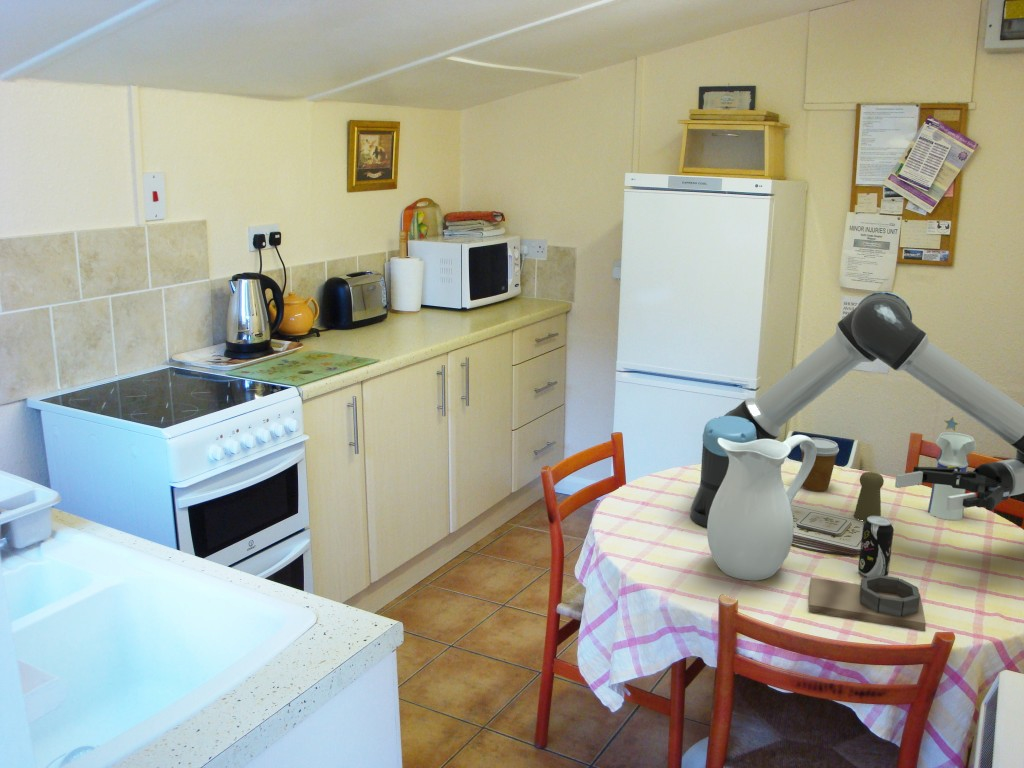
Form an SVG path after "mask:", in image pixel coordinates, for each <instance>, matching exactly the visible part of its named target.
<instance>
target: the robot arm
mask: <svg viewBox="0 0 1024 768" xmlns="http://www.w3.org/2000/svg"><path fill="white" fill-rule="evenodd" d="M876 360H879V361H880V362H882V363H884V364H885V365H886V366H889V367H890V368H891V369H893V370H894V371H896V372H899V371H903V372H905V373H907V374H909V375H910V376H912V377H913V378H915V379H916V380H917V381H919V382H921V383H922V384H923V385H924V386H926V387H927V388H928V389H930V390H932V391H933V392H934V393H936V394H937V395H939V396H940V397H942V398H943V399H944V400H946V401H948V402H949V403H950V404H952V405H954V407H955V408H957V409H959V410H961V411H962V412H964V413H965V414H966V415H967V416H969V417H970V418H972V419H973V420H975V421H976V422H978V423H979V424H980V425H982V426H983V427H985V428H986V429H987V430H989V431H990V432H992V433H993V434H995V435H996V436H998V437H999V438H1001V439H1002V440H1003V441H1005V442H1006V443H1008V444H1009V445H1011V446H1012V447H1013V448H1014V449H1015V450H1016V454H1015V458H1012V459H1004V460H998V461H994V462H988V463H987V462H986V463H982V464H979V465H978V466H977V467H975V468H974V470H973V471H972V470H971V471H969V470H966V472H960V468H959V467H951V468H943V467H937V466H934V467H933V466H913V470H912V472H906V473H899V474H896V475H895V483H894V484H895V485H894V488H896V489H900V488H907V487H913V486H920V485H922V484H924V483H925V484H932V485H933V484H942V485H951V486H952V487H953V488H958V489H965V490H966V491H967V492H968V493H967V492H966V493H965V494H961V495H955V496H949V497H948V498H947V506H946V510H948V511H951V510H957V509H963V508H964V509H968V508H975V507H976V508H983V507H985V510H987V511H993V510H994V509H995V508H996V507H997V506H999V505H1000V504H1001V502H1003V501H1006V500H1009V498H1010V497H1011V496H1017V495H1022V494H1023V495H1024V405H1021V404H1020V403H1018V402H1017V401H1016V400H1014V399H1013V398H1011V397H1010V396H1008V395H1007V394H1005V393H1004V392H1003V391H1001V390H999V389H998V388H997V387H995V386H994V385H992V384H991V383H990V382H988V381H987V380H985V379H984V378H982V377H981V376H980V375H978V374H977V373H976V372H974V371H973V370H971V369H969V368H968V367H967V366H965V365H963V364H962V363H961V362H959V361H958V360H957V359H955V358H954V357H952V356H950V355H949V354H948V353H946V352H945V351H944V350H942V349H940V347H938V346H936V345H934V344H933V343H932V342H931V341H929V336H928V334H927V333H926V332H925V331H923V330H922V329H920V328H919V327H918V326H917V325H916V324H915V323H914V322H913V313H912V311H911V308H910V306H909V305H908V304H907V302H906V300H905V299H903V298H902V297H901V296H900V295H898V294H895V293H892V292H888V291H879V292H874V293H871V294H868V295H867V296H865V297H864V298H862V300H861V301H860V302H859V304H858V305H857V306H856V307H855V308H854V309H852V311H849V313H848V314H846V315H845V316H844V317H843V318H841V320H840V321H838V322H837V323H836V326H835V333H834V334H833V335H832V336H830V337H829V338H828V339H827V340H826V341H824V343H823V344H820V346H818V348H816V349H815V350H813V352H811V353H810V354H808V356H806V358H804V359H803V360H802V361H801V362H799V363H798V364H797V365H796V366H794V367H792V369H791V370H789V371H788V372H787V373H786V374H785V375H784V376H782V377H781V378H780V379H779V380H778V381H776V382H775V383H774V384H773V385H771V387H769V388H768V389H767V390H765V391H764V392H763V393H762V394H761V395H760V396H758V397H757V398H755V397H747V398H746V399H744V400H743V402H741V403H739V405H738V406H736V407H735V408H733V409H730V410H729V411H728V412H726V413H725V414H724V415H722V416H718V417H714V418H712V419H709V420H708V421H707V422H706V424H705V425H704V429H703V434H702V449H701V451H702V453H701V467H700V468H701V469H700V470H701V471H700V481H699V482H700V483H699V486H698V488H697V489H698V490H697V492H696V494H695V496H694V499H693V501H692V503H691V507H690V518H691V520H692V522H694V523H696V524H697V525H699V526H701V527H703V528H707V523H708V516H709V512H710V508H711V505H712V503H713V500H714V498H715V495H716V493H717V491H718V489H719V488H720V486H721V484H722V482H723V480H724V478H725V476H726V473H727V470H728V466H729V457H728V455H727V453H726V452H725V451H724V450H723V449H722V448H721V447H720V446H719V445H718V441H717V440H718V438H723V439H725V440H728V441H732V442H737V443H747V442H751V441H755V440H759V439H773V440H776V439H777V438H779V437H780V436H781V434H782V426H784V424H785V423H787V422H789V420H791V419H793V417H794V416H797V414H798V413H800V412H801V411H802V410H803V409H805V408H806V407H807V406H808V405H809V404H811V403H812V402H814V401H815V400H817V398H818V397H820V396H821V395H822V394H823V393H825V391H827V390H829V388H831V387H832V386H834V385H835V384H836V383H837V382H839V380H841V379H842V378H843V377H845V376H846V375H847V374H848V373H850V372H851V371H852V370H854V368H856V367H857V366H858V365H860V364H861V363H873V362H875V361H876ZM959 478H960V479H959ZM957 479H959V484H956V481H957ZM976 493H977V495H976Z"/></svg>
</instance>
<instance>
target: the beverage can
mask: <svg viewBox="0 0 1024 768" xmlns="http://www.w3.org/2000/svg"><path fill="white" fill-rule="evenodd" d="M894 530H895V529H894V526H893V525H892V520H890V519H889V518H888V517H884V516H882V515H881V516H870V517H868V518H867V521H866V522H864V523H863V525H862V533H861V542H860V551H859V558H858V568H857V569H858V572H859V573H860V574H862V575H863V576H864V577H865V578H867V577H871V576H875V575H877V576H878V575H881V576H887V577H888V575H889V571H890V563H891V562H890V561H891V556H892V555H891V554H892V545H893V536H894Z"/></svg>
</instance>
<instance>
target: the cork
mask: <svg viewBox="0 0 1024 768" xmlns="http://www.w3.org/2000/svg"><path fill="white" fill-rule="evenodd" d="M884 482H885V481H884V477H883V475H882V474H880V473H878V472H874V471H873V472H872V471H866V472H863V473H862V474H861V475H860V478H859V484H860V486H861V487H860V491H859V494H858V498H857V502H856V506H855V509H854V514H853V517H854V519H856V520H858V519H859V520H858V521H860V520H863V521H867V518H868V517H870V516H881V517H882V509H881V507H882V506H881V504H882V503H881V502H882V501H881V498H882V497H881V488H883V486H884ZM863 521H862V522H863Z"/></svg>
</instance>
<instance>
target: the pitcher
mask: <svg viewBox="0 0 1024 768" xmlns="http://www.w3.org/2000/svg"><path fill="white" fill-rule="evenodd" d="M810 438H811V437H809V436H807V435H803V434H795V435H791V436H790V437H788V438H786V439H785V440H783V441H779V440H776V439H775V440H773V439H759V440H755V441H751V442H747V443H737V442H732V441H728V440H725V439H723V438H718V440H717V441H718V445H719V446H720V447H721V448H722V449H723V450H724V451H725V452H726V453H727V455H728V457H729V466H728V470H727V473H726V476H725V478H724V480H723V482H722V484H721V486H720V488H719V489H718V491H717V493H716V495H715V498H714V500H713V503H712V505H711V508H710V512H709V516H708V523H707V527H706V531H707V532H706V535H707V543H708V547H709V550H710V552H711V555H712V557H713V560H714V561H715V563H716V565H717V567H719V569H720V570H721V571H722V573H724V574H725V575H727V576H730V577H732V578H735V579H737V580H738V579H739V580H744V581H762V580H766V579H769V578H771V577H773V576H774V575H775V573H777V571H778V570H779V569H780V568H781V567H782V565H783V563H785V561H786V559H787V558H788V555H789V553H790V552H791V551H790V550H791V548H792V545H793V544H792V543H793V538H794V518H793V511H792V507H791V506H792V503H793V502H794V501H793V500H795V497H796V496H797V494H798V493H799V492H800V491H799V490H801V487H803V483H804V481H805V479H806V478H807V476H808V474H809V473H810V471H811V469H812V467H813V465H814V462H815V459H816V453H817V450H816V445H815V443H814V441H813V440H812V439H810ZM802 443H803V444H804V447H805V453H804V459H803V462H802V461H801V464H800V468H799V470H798V471H797V474H796V476H795V478H794V479H793V481H792V483H791V484H790V486H789V487H788V489H786V488H785V485H784V482H783V481H784V480H783V479H782V465H783V464H784V463H785V460H786V458H788V456H789V455H790V454H791V452H792V450H794V448H795V447H797V446H800V444H802Z"/></svg>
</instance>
